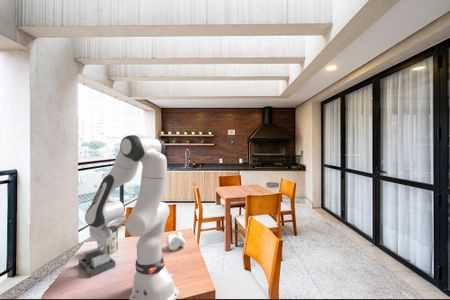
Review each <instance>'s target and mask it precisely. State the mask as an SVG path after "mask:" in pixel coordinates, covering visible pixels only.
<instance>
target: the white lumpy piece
mask: <svg viewBox="0 0 450 300" xmlns="http://www.w3.org/2000/svg"><path fill="white" fill-rule="evenodd" d="M182 235H183V234H182V232H181V231H178V232H176V233H175V234H174V233H169V234H168V235H167V237H166V246H167V247H168V249H169V250H170V251H176V250H178V249H179V247H180V248H183V247H184V246H185V245H186V240H185V238H183V237H182Z"/></svg>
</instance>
